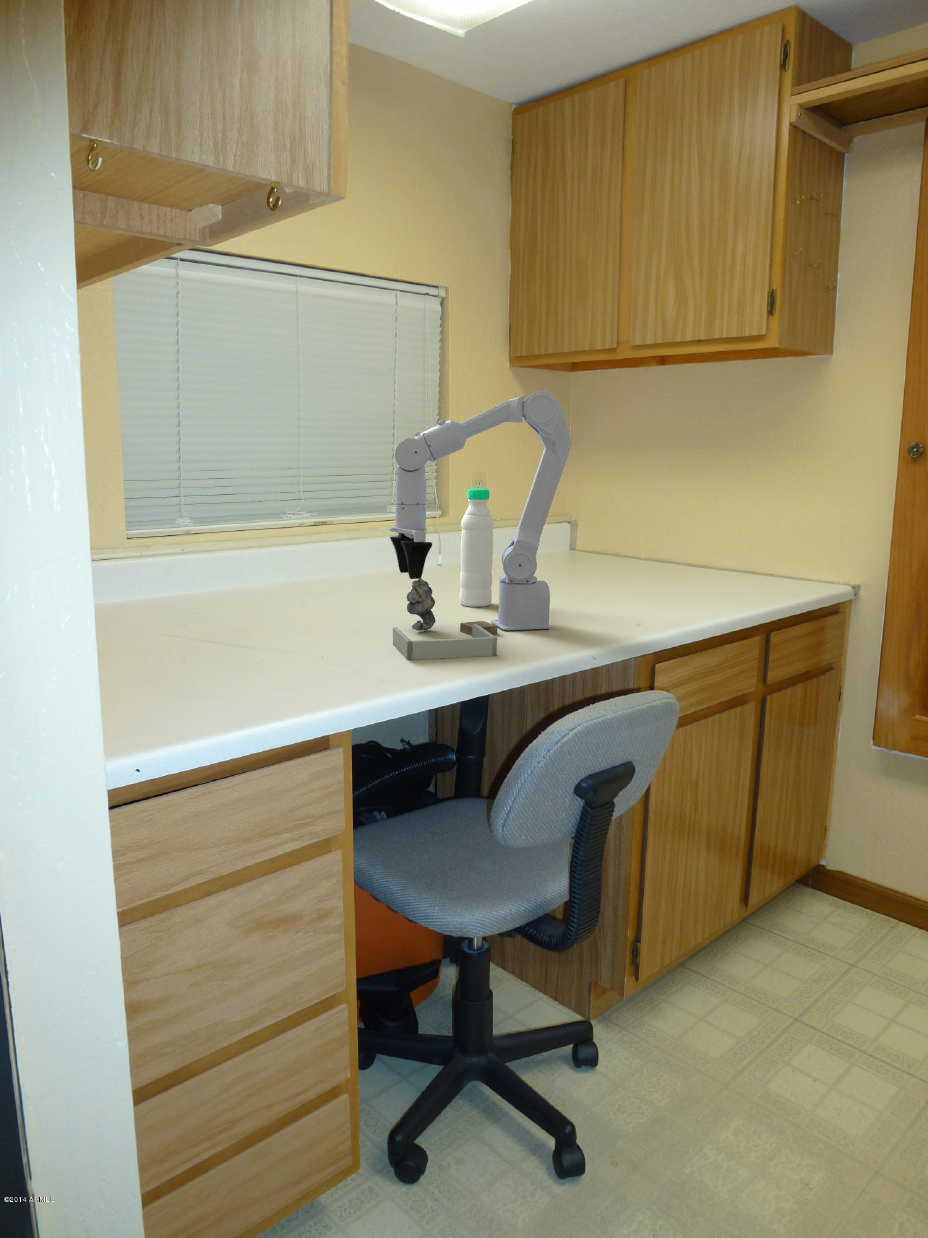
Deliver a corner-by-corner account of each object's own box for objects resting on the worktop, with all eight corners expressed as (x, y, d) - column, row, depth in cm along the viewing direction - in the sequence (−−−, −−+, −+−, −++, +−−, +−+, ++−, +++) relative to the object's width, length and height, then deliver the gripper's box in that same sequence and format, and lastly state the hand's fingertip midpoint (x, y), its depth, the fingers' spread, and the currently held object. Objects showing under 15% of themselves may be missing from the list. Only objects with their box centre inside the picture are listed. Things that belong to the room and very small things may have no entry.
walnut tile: (482, 631, 164) (482, 620, 164) (497, 636, 160) (497, 625, 160) (460, 633, 162) (460, 623, 161) (474, 639, 157) (474, 628, 157)
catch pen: (476, 640, 155) (476, 624, 154) (496, 655, 144) (497, 637, 143) (392, 644, 150) (392, 627, 150) (407, 660, 140) (407, 642, 139)
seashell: (425, 634, 158) (426, 580, 156) (401, 631, 161) (401, 577, 159) (440, 629, 163) (441, 577, 161) (416, 626, 165) (417, 574, 163)
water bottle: (488, 608, 184) (492, 490, 179) (456, 606, 186) (458, 488, 181) (494, 602, 191) (497, 488, 186) (462, 600, 192) (465, 487, 187)
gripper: (381, 501, 168) (381, 570, 171) (399, 507, 155) (398, 582, 158) (416, 501, 170) (416, 569, 173) (437, 506, 157) (435, 581, 160)
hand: (410, 575), depth 165 cm, fingers open, 7 cm apart
